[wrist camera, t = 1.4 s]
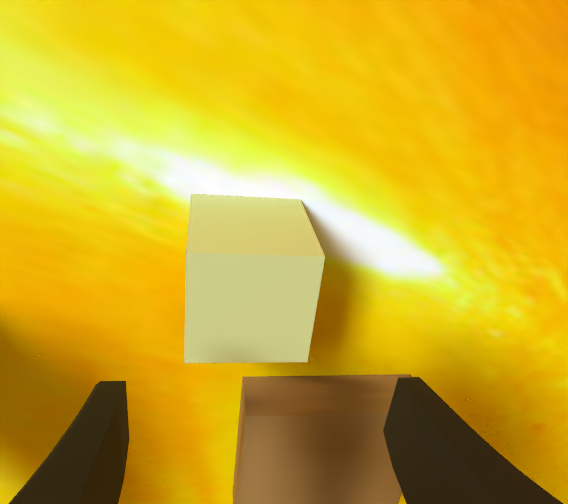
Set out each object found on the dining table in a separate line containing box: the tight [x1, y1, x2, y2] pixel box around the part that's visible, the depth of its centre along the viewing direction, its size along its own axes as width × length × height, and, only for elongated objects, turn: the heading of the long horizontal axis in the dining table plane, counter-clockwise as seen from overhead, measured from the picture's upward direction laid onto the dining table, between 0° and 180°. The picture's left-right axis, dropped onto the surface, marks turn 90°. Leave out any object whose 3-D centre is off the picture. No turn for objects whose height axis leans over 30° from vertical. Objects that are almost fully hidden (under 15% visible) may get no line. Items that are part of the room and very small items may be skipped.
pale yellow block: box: [184, 194, 325, 363], centre depth 19 cm, size 4×4×5 cm
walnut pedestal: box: [233, 374, 411, 504], centre depth 26 cm, size 9×9×3 cm
